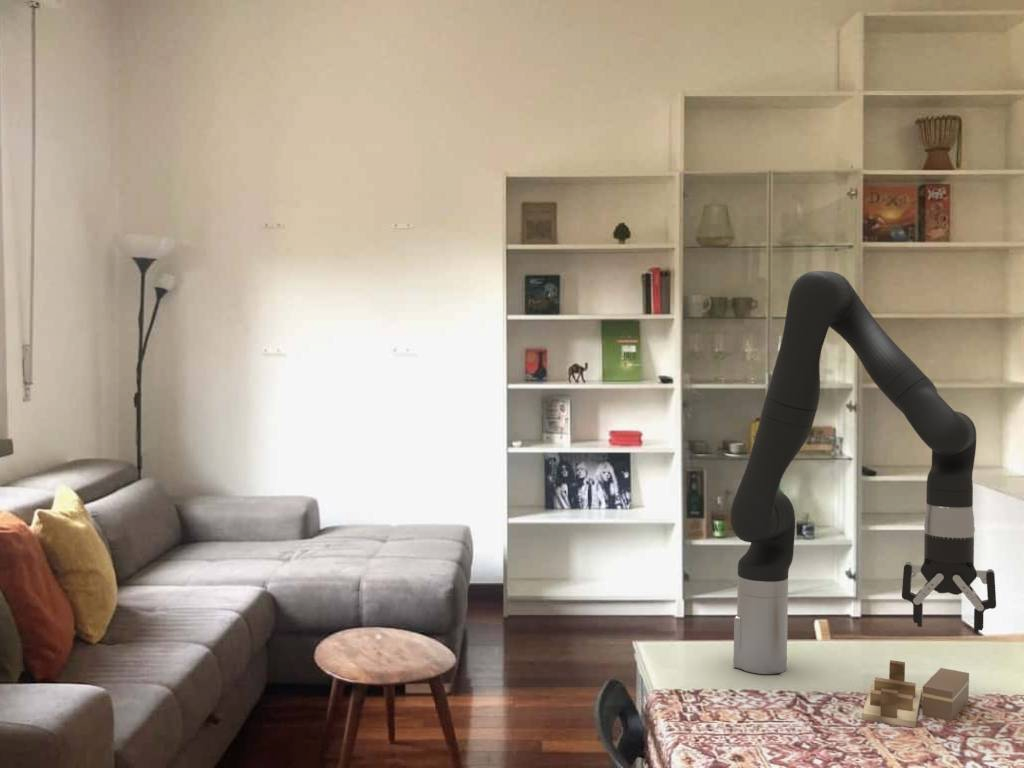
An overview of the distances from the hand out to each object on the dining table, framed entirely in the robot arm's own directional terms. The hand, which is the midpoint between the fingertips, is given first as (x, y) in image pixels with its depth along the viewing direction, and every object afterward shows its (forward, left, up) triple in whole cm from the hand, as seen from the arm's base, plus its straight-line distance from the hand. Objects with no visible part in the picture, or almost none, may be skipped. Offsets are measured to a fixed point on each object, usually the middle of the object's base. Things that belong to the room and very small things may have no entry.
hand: (947, 629), depth 161 cm
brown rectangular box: (0, 0, -14) cm, 14 cm away
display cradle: (-8, -3, -13) cm, 16 cm away
